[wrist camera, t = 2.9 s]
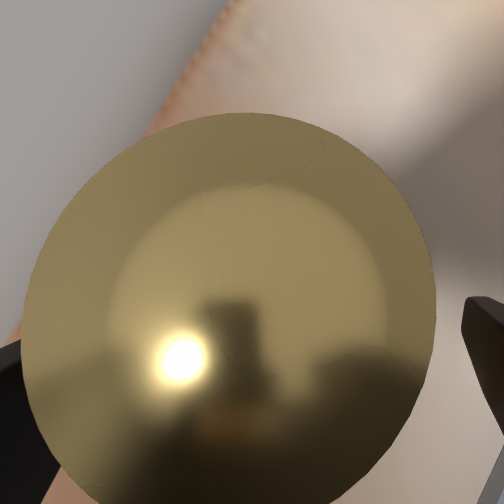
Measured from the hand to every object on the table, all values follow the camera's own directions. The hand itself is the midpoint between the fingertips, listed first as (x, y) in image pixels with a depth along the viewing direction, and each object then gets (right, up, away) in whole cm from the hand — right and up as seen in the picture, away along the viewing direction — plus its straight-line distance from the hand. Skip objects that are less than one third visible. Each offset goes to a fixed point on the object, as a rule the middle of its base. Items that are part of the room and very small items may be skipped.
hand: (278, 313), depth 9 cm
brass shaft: (+1, -3, +6) cm, 7 cm away
